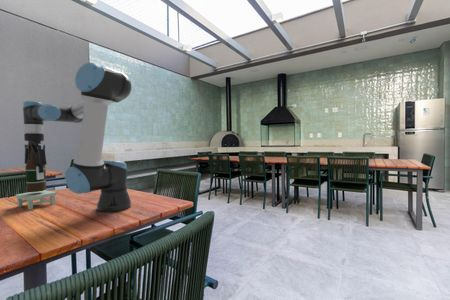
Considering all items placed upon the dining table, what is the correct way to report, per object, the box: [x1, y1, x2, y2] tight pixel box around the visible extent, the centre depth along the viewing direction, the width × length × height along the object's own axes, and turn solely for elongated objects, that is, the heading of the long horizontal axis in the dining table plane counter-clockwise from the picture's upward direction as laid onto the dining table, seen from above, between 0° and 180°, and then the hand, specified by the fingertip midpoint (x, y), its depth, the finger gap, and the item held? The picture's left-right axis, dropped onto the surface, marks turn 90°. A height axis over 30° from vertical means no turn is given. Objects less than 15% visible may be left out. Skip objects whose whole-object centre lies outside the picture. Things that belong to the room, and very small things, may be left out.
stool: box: [14, 189, 57, 211], centre depth 116 cm, size 12×12×6 cm
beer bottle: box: [24, 143, 47, 193], centre depth 115 cm, size 8×8×24 cm
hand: (35, 178), depth 116 cm, fingers closed on beer bottle, 7 cm apart
